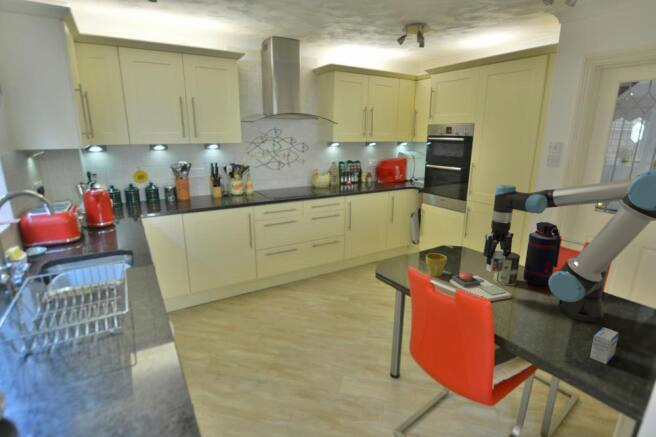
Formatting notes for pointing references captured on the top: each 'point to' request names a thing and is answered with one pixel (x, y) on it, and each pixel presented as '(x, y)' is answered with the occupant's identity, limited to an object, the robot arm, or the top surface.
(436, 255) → the plant pot
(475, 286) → the white control panel
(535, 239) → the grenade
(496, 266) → the pill bottle
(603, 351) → the medicine box
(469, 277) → the button
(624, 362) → the top surface
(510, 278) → the coffee can
